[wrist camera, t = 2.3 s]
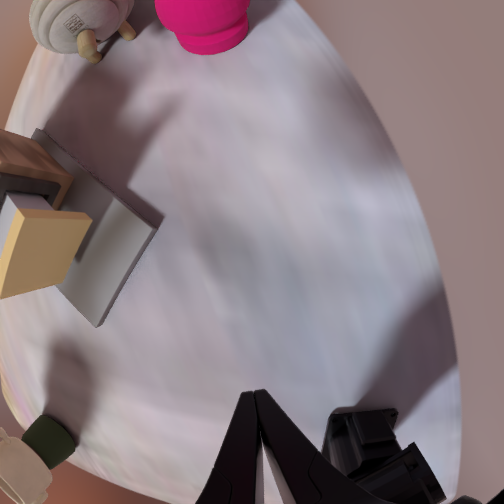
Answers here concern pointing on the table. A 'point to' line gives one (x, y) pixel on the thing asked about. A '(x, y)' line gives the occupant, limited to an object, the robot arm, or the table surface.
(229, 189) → the table surface
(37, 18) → the toy sheep
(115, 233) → the wooden drawer box
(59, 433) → the character mug
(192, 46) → the pepper mill
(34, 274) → the tan drawer
